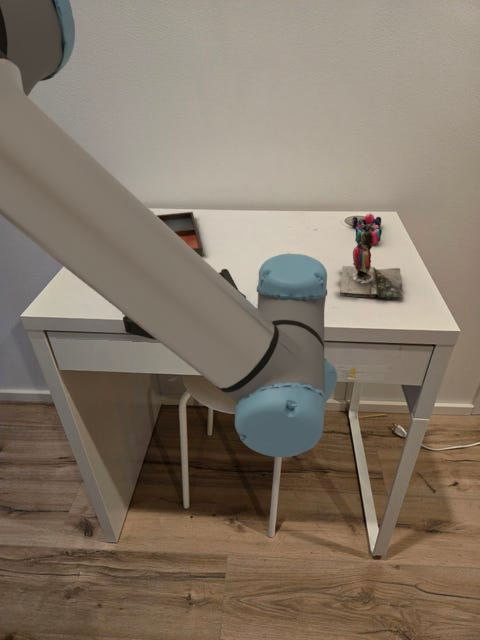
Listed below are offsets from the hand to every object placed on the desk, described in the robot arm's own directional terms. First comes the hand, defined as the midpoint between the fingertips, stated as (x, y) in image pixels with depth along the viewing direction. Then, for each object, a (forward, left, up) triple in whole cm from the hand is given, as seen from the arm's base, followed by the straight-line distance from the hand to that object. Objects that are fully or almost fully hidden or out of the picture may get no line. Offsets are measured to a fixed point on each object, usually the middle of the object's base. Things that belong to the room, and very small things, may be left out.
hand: (152, 280), depth 74 cm
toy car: (+49, +20, -7) cm, 54 cm away
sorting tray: (+1, +29, -7) cm, 29 cm away
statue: (+40, 0, -7) cm, 41 cm away
